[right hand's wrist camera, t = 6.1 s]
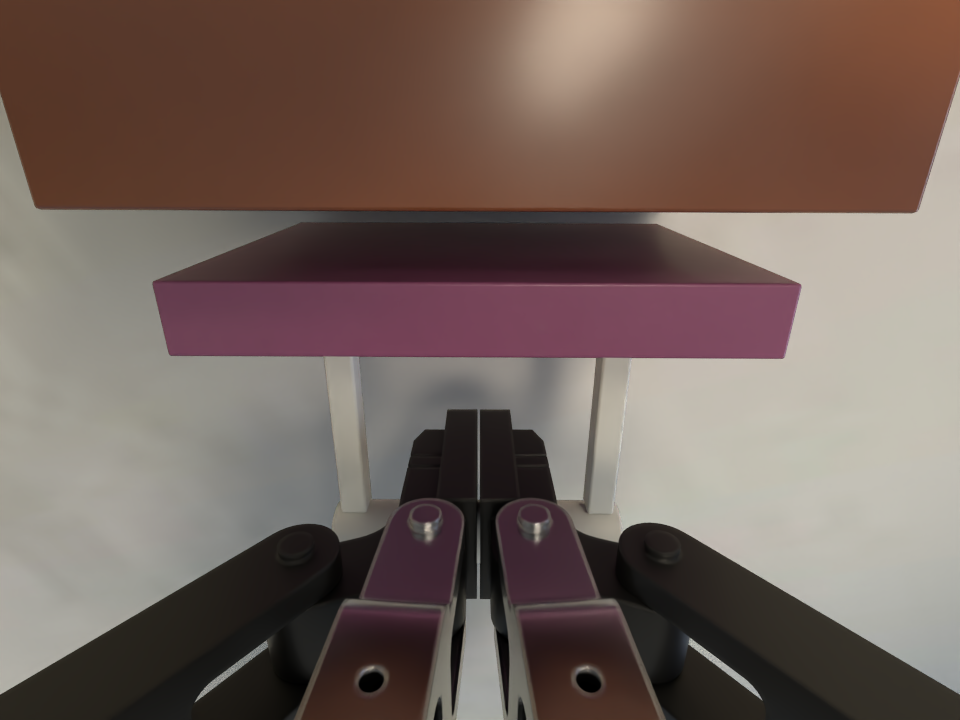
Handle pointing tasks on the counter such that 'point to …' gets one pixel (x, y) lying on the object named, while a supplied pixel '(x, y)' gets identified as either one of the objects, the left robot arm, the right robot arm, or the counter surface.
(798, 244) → the counter surface
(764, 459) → the counter surface
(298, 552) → the right robot arm
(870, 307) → the counter surface
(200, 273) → the drawer
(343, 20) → the cabinet
